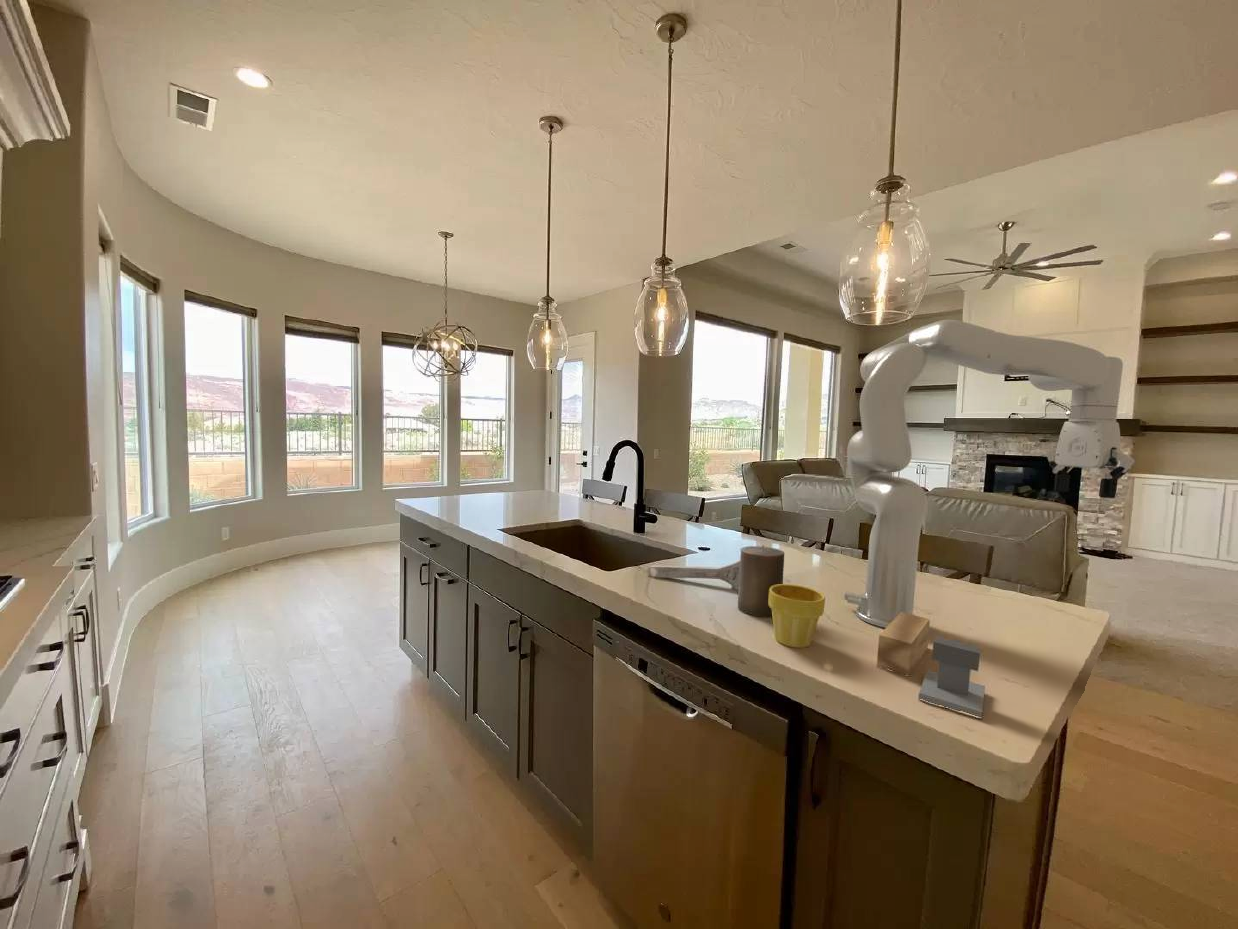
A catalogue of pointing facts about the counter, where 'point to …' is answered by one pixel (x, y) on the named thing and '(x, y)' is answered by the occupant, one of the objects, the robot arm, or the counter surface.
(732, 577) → the wrench
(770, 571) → the pillar candle
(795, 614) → the plant pot
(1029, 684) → the counter surface
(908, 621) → the oak block
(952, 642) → the stand
